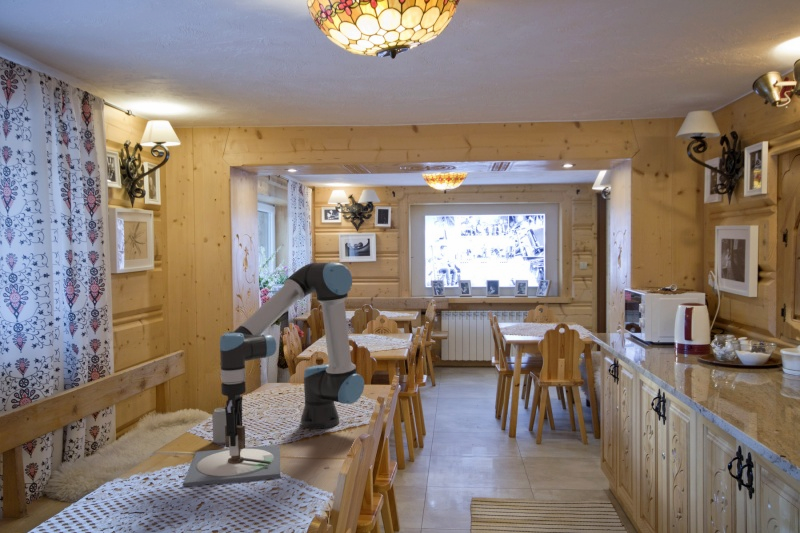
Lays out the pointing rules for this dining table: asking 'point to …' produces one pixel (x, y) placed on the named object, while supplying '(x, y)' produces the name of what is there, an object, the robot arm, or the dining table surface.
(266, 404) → the dining table surface
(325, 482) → the dining table surface
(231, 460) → the dial pointer knob
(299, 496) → the dining table surface
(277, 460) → the dial board
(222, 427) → the can
